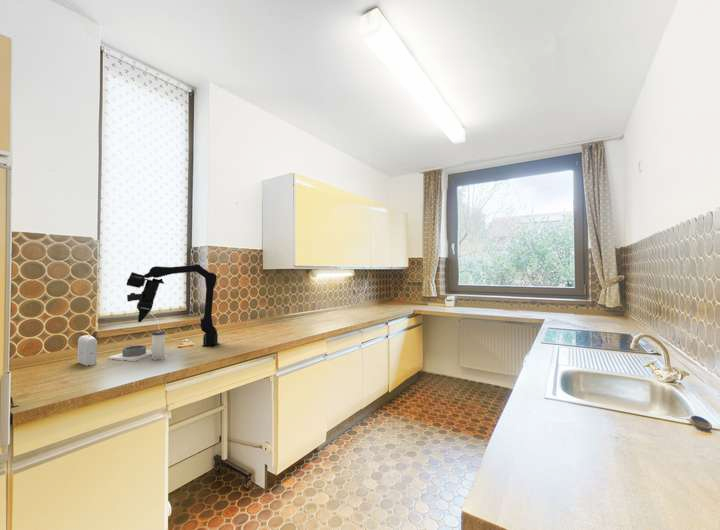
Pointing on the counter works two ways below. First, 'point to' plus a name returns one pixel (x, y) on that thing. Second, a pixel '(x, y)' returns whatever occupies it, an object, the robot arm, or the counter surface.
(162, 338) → the canister
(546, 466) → the counter surface
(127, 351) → the collar
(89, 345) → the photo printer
